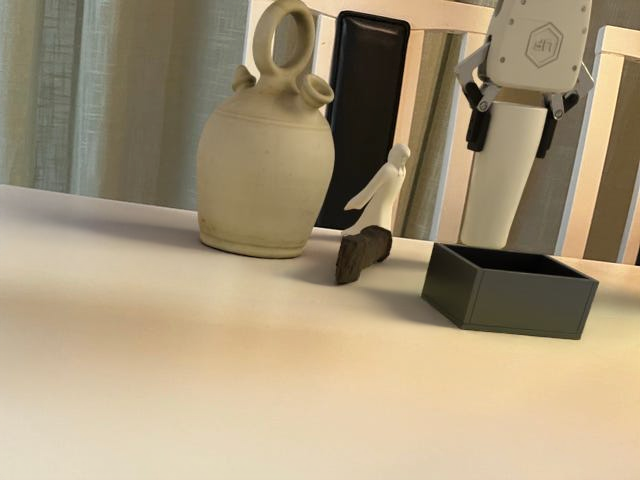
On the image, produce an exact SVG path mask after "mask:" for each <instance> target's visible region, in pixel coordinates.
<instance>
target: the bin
mask: <svg viewBox="0 0 640 480" xmlns="http://www.w3.org/2000/svg"><path fill="white" fill-rule="evenodd" d="M599 285H600V281H599V280H597V279H595V278H593V277H592V276H589V275H588V274H587V273H584V272H581V271H580V270H578V269H576V268H573V267H572V266H570V265H568V264H567V263H564V262H562V261H560V260H558V259H556V258H554V257H552V256H550V255H548V254H547V253H542V252H535V251H533V252H532V251H525V250H522V251H521V250H513V249H505V248H502V249H496V248H487V247H477V246H468V245H466V244H457V243H447V242H439V241H438V242H437V241H434V242H433V245H432V249H431V253H430V256H429V261H428V265H427V269H426V273H425V277H424V282H423V286H422V290H421V292H420V298H422V299H423V300H424V301H426V302H427V303H428V304H429V305H431V306H432V307H433V308H434V309H436V310H437V311H438V312H439V313H440V314H442V315H444V316H445V317H446V318H447V319H448V320H450V321H451V322H453V324H455V325H456V326H457V327H459V328H460V329H462V330H469V331H481V332H492V333H502V334H512V335H513V334H514V335H524V336H533V337H534V336H535V337H544V338H545V337H546V338H557V339H567V340H568V339H569V340H578V341H579V340H581V339H582V336H583V333H584V329H585V327H586V323H587V320H588V317H589V315H590V312H591V309H592V306H593V303H594V300H595V297H596V294H597V291H598V287H599Z"/></svg>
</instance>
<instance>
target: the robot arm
mask: <svg viewBox="0 0 640 480" xmlns="http://www.w3.org/2000/svg"><path fill="white" fill-rule="evenodd" d="M592 5H593V0H497V1H496V4H495V6H494V9H493V12H492V15H491V17H490V19H489V20H490V21H489V24H488V26H487V29H486V34H485V37H484V40H483V44H482V45H481V46H480V47H479V48H477V49H476V50H475V51H473V52H472V53H471V54H469V55H468V56H467V57H465V58H464V59H463V60H461V61H460V62H458V63H457V64H456V65H455V66H454V68H453V73H454V75H455V77H456V80H457V82H458V84H459V86H460V87H461V92H462V94H463V96H464V97H465V99H466V100H467V102H468V106H469V108H470V110H471V113H470V118H469V122H468V125H467V130H466V135H465V142H466V143H467V144H466V149H467V150H468V151H472V152H474V153H475V152H481V151H482V150H483V147H484V143H485V139H486V135H487V131H488V126H489V122H490V118H491V114H490V113H489V112H488V109H489V106H490V105H491V103H492V102H493V101H495V99H496V97H497V96H498V95H499V93H500V91H502V89H503V88H510V89H517V90H518V89H519V90H527V91H537V92H539V93H540V99H541V107H543V108H547V109H548V111H547V115H546V120H545V124H544V128H543V132H542V136H541V140H540V143H539V147H538V150H537V153H536V156H535V159H540V160H544V159H545V157H546V155H547V151H549V150H550V149H551V146H552V142H553V138H554V135H555V131H556V128H557V124H558V121H559V120H562V119H563V118H564V116H565V114H567V112H569V111H570V110H571V109H572V108H573V107H575V106H576V105H577V104H578V102H579V101H580V100H581V99H583V98H584V97H585V96H586V95H587V94H588V93H589V92H591V90H593V88H594V87H595V81H594V79H593V77H592V75H591V74H590V71H588V68H587V67H586V65H585V64H584V62H583V57H584V54H585V48H586V44H587V39H588V33H589V28H590V21H591V13H592ZM476 69H477V71H476V72H477V73H476V76H477V79H478V80H479V81H481V82H482V83H481V84H480V86H478V84H477V83H476V81H475V80H474V76H473V73H474V71H475V70H476ZM563 93H564V94H563Z"/></svg>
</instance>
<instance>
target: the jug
mask: <svg viewBox="0 0 640 480" xmlns="http://www.w3.org/2000/svg"><path fill="white" fill-rule="evenodd" d="M288 15H291V16H292V18H293V19H294V22H295V26H296V32H297V33H296V43H295V46H294V49H293V52H292V54H291V56H290V57H289V59H288V60H287V61H286V62H285V63H284V64H282V65H280V66H278V64H276V63H275V61H274V59H273V55H272V44H273V43H272V42H273V38H274V34H275V31H276V29H277V27H278V26H279V24H280V22H281V21H282V20H283V19H284V18H285V17H286V16H288ZM315 40H316V26H315V20H314V16H313V14H312V12H311V9H310V8H309V7H308V5H307V4H306V2H304V1H303V0H274V1H273V2H272V3H270V4H269V5H268V6H267V7H266V8H265V9H264V11H263V12H262V14H261V15H260V17H259V19H258V21H257V23H256V26H255V29H254V33H253V38H252V44H251V45H252V46H251V48H252V49H251V50H252V59H253V62H254V65H255V67H256V69H257V71H258V72H259V78H258V79H257V77H256V76H255V75H253V74H251V72H250V70H249V69H248V67H247V66H246V65H244V64H240V65H238V66H237V67H236V69H235V73H234V81H233V82H232V84H231V90H232V91H233V92H234V94H233V95H231V96H229V97H228V98H226V99H225V100H224V101H222V102H221V103H219V104H218V105H217V107H216V108H214V110H213V111H212V112H211V115H210V116H209V117H208V119H207V121H206V123H205V125H204V127H203V129H202V132H201V134H200V138H199V142H198V146H197V152H196V161H195V162H196V167H195V168H196V170H195V171H196V201H197V203H196V206H197V209H196V210H197V221H198V228H199V240H200V242H201V243H202V244H204V245H205V246H209V247H211V248H215V249H218V250H221V251H224V252H229V253H231V254H232V253H233V254H237V255H239V254H240V255H243V256H244V255H245V256H249V257H256V258H262V259H286V258H296V257H299V256H301V255H302V254H303V253H304V248H305V247H306V245H307V243H308V241H309V239H310V237H311V235H312V232H313V229H314V226H315V224H316V222H317V220H318V217H319V215H320V212H321V210H322V207H323V205H324V202H325V199H326V196H327V194H328V190H329V187H330V184H331V180H332V177H333V172H334V166H335V158H336V157H335V143H334V137H333V134H332V129H331V126H330V123H329V121H328V120H327V118H326V117H325V116H324V115H323V113H322V111H321V110H320V108H323V107H325V106H326V105H329V104H330V103H331V102H333V100H334V98H335V94H334V90H333V89H332V87H331V86H330V84H329V83H328V82H327V81H326V80H325V79H324V78H322V77H320V76H319V75H317V74H314V73H307V74H305V75H304V76H303V80H302V85H301V87H300V90H299V88H298V87H297V86H298V85H297V83H296V79H297V76H299V75H300V74H301V73H302V72H303V71H304V70H305V68H306V66H307V65H308V63H309V61H310V59H311V56H312V53H313V51H314V47H315V43H316V42H315Z"/></svg>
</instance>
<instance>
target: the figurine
mask: <svg viewBox="0 0 640 480" xmlns="http://www.w3.org/2000/svg"><path fill="white" fill-rule="evenodd" d="M410 156H411V149H410V148H409V146H408V145H407V144H405V143H402V142H398V143H396V144H394V145H393V146H392V148H391V149H390V150H389V153H388V155H387V162H385V163H384V164H383V165H382V166H381V168H380V169H379V170H378V171H377V172H376V173H375V175H374V176H373V177H372V179H371V180H370V181H369V182H368V184H367V185H366V186H365V187H364V188H363V189H362V190H361V191H360V192H359V193H357V194H356V195H355V196H354V197H352V198H351V199H350V200H349V201H348V202H347V203H346V205H345V207H344V208H343V210H344V211H348V210H353V209H355V210H361V209H362V208H363V207H364V206H365V205H366V204H367V203H368V204H367V205H366V207H364V210H363V212H362V214H361V216H360V217H359V218H358V220H357V221H356V222H355V223H354V224H353V225H352V226H351V227H348V228H346V229H344V230H342V231H340V233H339V234H340V236H342V237H345V236H347V235H356V234H359V233H360V231H361V230H362V229H363V228H365V227H367V226H371V225H378V226H380V227H383V228H385V229H387V230H390V231H391V229H392V214H393V213H392V212H393V206H394V203H395V202H396V200H397V198H398V196H399V194H400V191H401V190H402V187H403V183H404V181H405V179H406V174H407V170H406V163H407V162H408V159H409V158H410ZM391 232H392V231H391Z"/></svg>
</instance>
